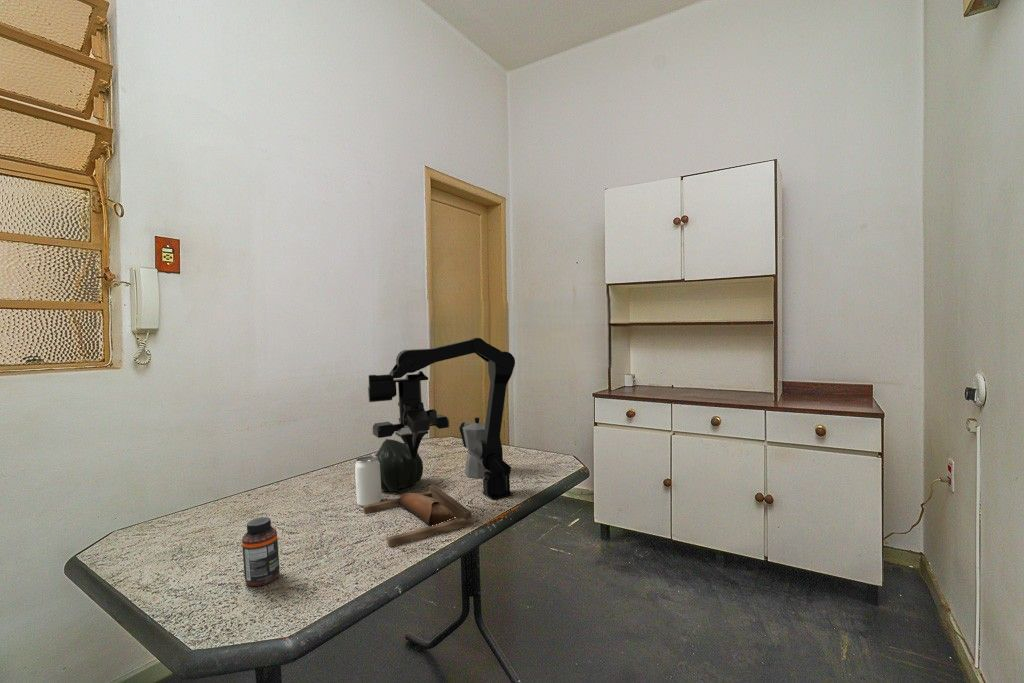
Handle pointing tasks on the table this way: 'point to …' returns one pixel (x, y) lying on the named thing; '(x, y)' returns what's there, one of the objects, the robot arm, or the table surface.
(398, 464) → the squash
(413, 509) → the sunglasses case
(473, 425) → the coffeepot
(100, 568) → the table surface
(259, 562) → the supplement bottle
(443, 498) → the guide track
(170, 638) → the table surface
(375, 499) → the can
